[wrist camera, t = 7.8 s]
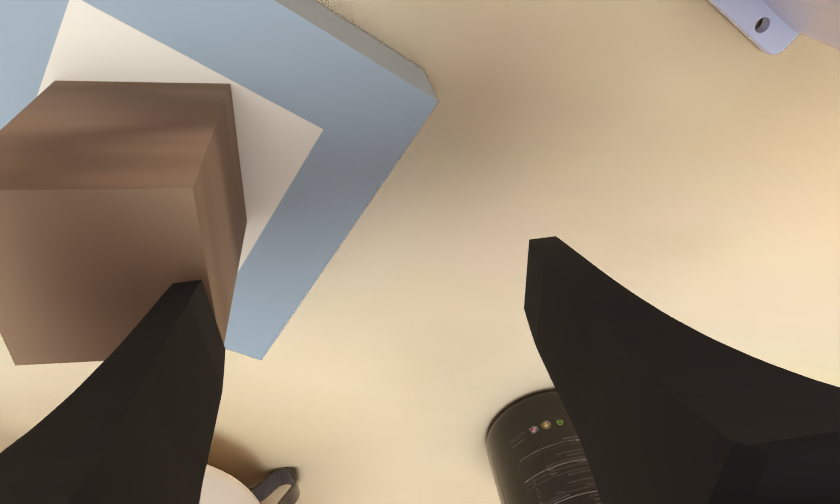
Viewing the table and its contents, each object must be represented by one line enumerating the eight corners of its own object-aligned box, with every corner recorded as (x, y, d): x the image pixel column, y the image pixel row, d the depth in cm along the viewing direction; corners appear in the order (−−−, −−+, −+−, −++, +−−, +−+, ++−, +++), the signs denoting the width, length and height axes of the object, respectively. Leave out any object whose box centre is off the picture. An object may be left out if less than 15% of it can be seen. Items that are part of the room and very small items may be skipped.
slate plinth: (423, 69, 20) (438, 101, 17) (266, 309, 25) (261, 361, 22) (36, -178, 15) (-21, -182, 12) (-63, 186, 20) (-117, 235, 17)
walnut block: (230, 83, 16) (192, 188, 11) (247, 221, 19) (222, 354, 14) (54, 80, 15) (-66, 190, 11) (97, 223, 18) (15, 365, 13)
